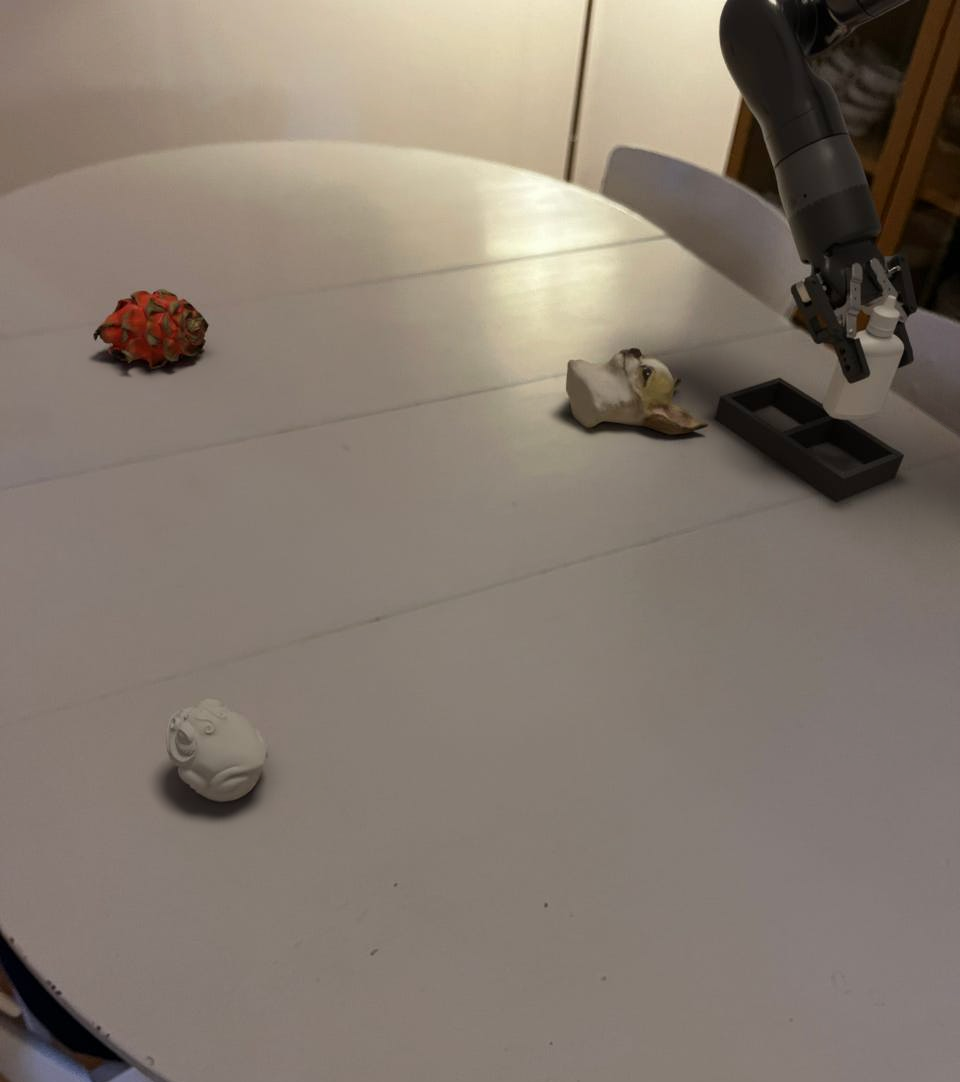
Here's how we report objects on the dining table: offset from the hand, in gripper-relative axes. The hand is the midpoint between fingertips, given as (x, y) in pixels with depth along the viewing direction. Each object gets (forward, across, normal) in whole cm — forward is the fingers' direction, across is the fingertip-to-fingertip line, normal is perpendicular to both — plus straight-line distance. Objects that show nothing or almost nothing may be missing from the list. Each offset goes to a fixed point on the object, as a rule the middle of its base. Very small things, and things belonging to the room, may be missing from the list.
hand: (881, 372), depth 100 cm
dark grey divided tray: (+5, 0, +13) cm, 14 cm away
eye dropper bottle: (+3, 0, +5) cm, 6 cm away
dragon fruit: (-28, -52, +46) cm, 75 cm away
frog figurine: (+13, -70, +5) cm, 71 cm away
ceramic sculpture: (-5, -13, +23) cm, 27 cm away
